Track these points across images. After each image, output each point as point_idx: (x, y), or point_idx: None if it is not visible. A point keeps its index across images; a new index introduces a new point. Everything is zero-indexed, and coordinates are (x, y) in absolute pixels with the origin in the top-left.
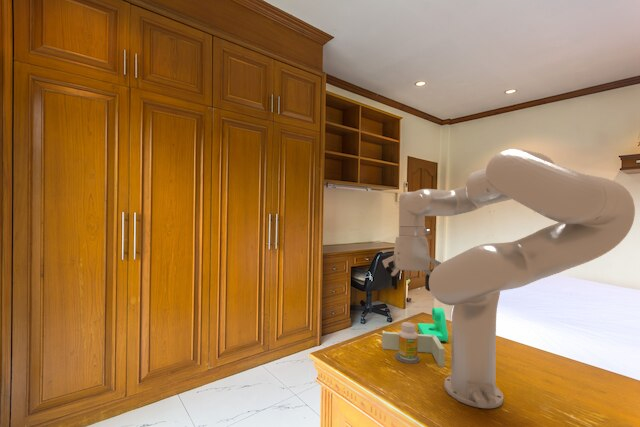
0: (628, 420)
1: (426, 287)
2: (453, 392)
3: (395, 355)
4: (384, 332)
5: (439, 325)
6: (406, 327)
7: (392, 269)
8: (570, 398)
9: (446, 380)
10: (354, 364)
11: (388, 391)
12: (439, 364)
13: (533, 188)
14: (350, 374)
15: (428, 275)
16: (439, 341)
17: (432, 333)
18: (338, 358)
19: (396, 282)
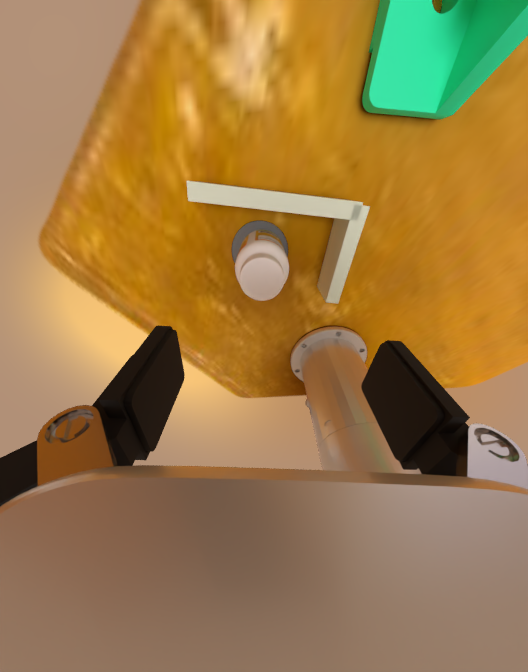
0: (467, 386)
1: (376, 375)
2: (295, 368)
3: (232, 246)
4: (195, 193)
5: (492, 4)
6: (251, 297)
7: (43, 476)
8: (455, 357)
9: (299, 347)
10: (144, 291)
11: (209, 360)
12: (318, 287)
13: None
14: (146, 325)
15: (427, 474)
16: (352, 257)
17: (410, 75)
18: (102, 268)
19: (166, 412)
